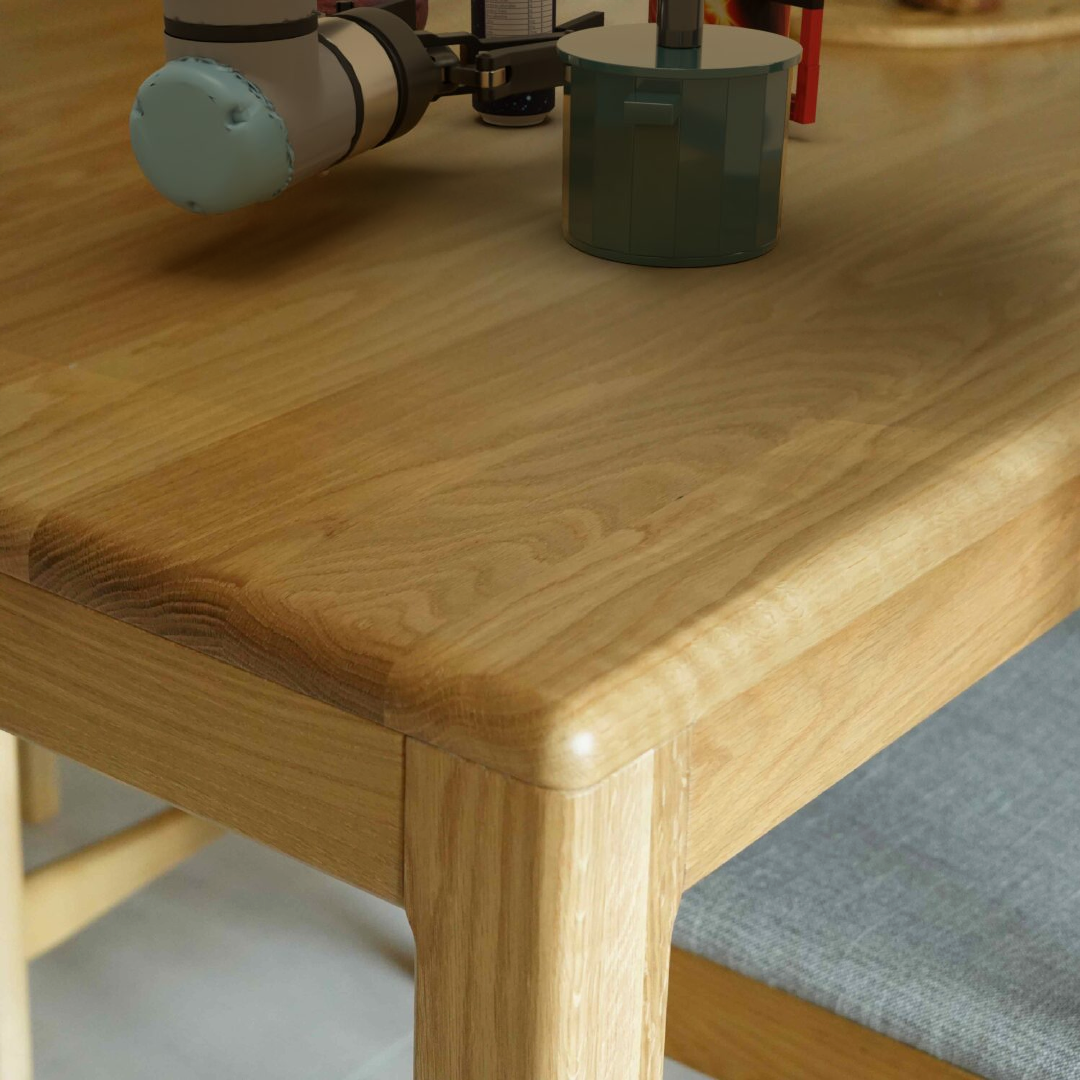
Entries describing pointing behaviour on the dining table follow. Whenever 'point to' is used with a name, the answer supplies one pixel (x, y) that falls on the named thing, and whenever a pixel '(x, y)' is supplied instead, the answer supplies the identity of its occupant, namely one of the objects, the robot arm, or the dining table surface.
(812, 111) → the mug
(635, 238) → the pot
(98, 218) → the dining table surface
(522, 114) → the beverage can
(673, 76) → the pot lid
